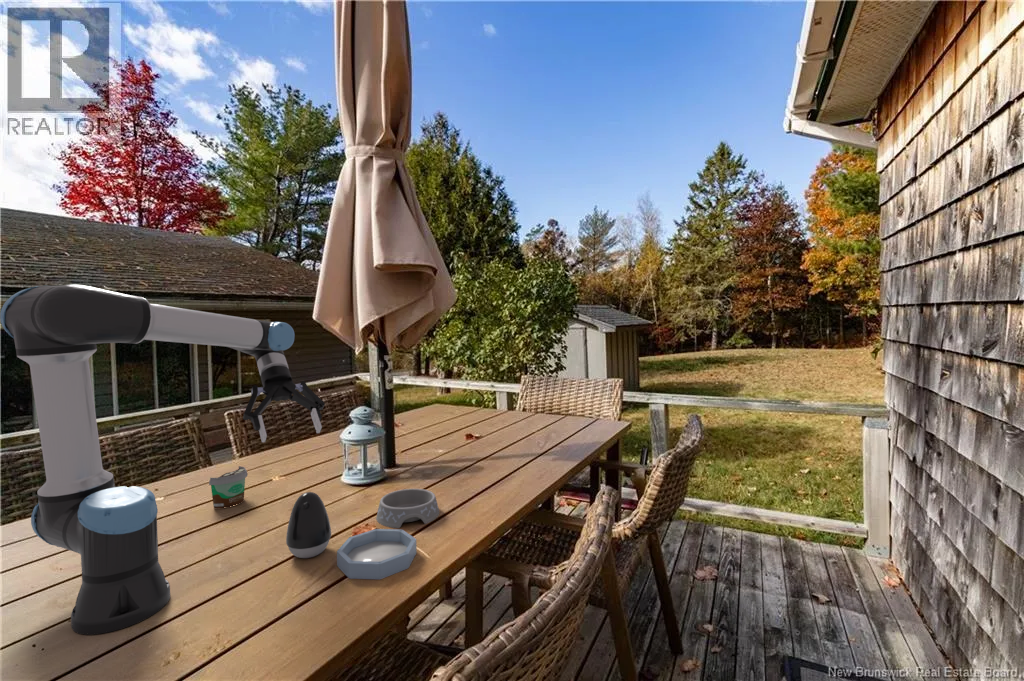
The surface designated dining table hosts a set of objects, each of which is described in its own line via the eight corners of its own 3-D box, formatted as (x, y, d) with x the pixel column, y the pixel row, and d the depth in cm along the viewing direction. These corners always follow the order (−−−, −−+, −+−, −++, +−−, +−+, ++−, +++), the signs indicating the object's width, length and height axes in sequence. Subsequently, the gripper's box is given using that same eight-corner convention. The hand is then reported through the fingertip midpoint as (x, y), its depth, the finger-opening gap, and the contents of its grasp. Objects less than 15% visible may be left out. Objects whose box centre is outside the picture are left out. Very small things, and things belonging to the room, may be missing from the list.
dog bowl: (374, 508, 143) (373, 491, 143) (433, 500, 149) (433, 483, 149) (378, 532, 127) (378, 513, 127) (445, 522, 133) (444, 503, 133)
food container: (227, 512, 140) (226, 479, 139) (209, 510, 141) (208, 478, 141) (257, 497, 152) (256, 466, 152) (241, 495, 153) (240, 465, 153)
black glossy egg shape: (282, 566, 109) (280, 503, 108) (290, 546, 119) (289, 487, 118) (329, 560, 112) (327, 498, 111) (333, 540, 122) (332, 483, 121)
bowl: (402, 580, 103) (401, 564, 103) (327, 577, 104) (327, 562, 104) (421, 543, 120) (421, 529, 120) (357, 541, 121) (356, 528, 121)
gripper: (316, 377, 143) (336, 434, 133) (222, 385, 126) (236, 451, 116) (322, 361, 139) (343, 419, 128) (225, 367, 122) (241, 434, 112)
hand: (292, 434), depth 122 cm, fingers open, 13 cm apart
